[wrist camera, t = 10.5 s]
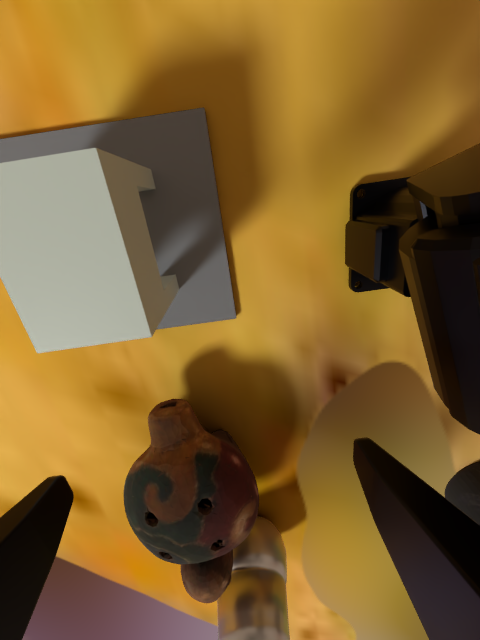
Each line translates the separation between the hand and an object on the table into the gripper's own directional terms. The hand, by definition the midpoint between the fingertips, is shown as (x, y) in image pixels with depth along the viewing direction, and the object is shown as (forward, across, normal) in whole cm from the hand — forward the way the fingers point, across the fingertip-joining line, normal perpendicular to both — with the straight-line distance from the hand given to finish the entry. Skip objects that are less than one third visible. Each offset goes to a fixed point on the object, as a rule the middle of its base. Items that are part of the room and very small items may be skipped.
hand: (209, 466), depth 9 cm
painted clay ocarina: (+12, +4, +12) cm, 18 cm away
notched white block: (+12, +5, -6) cm, 14 cm away
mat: (+12, +5, -6) cm, 14 cm away
